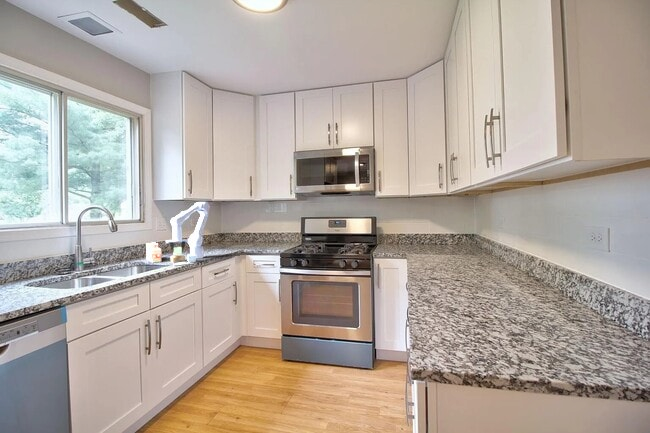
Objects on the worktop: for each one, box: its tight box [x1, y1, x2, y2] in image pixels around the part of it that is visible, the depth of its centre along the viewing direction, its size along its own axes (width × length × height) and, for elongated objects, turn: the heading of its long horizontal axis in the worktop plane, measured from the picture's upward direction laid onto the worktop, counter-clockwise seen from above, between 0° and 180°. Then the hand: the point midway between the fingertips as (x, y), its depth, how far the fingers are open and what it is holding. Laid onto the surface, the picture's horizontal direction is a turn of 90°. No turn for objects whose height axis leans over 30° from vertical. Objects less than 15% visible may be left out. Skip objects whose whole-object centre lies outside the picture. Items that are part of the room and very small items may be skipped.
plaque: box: [172, 261, 190, 267], centre depth 201 cm, size 9×9×1 cm
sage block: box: [172, 246, 183, 256], centre depth 214 cm, size 5×5×5 cm
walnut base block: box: [169, 254, 186, 264], centre depth 214 cm, size 8×8×4 cm
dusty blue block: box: [186, 254, 197, 263], centre depth 211 cm, size 5×5×5 cm
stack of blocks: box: [145, 242, 162, 264], centre depth 218 cm, size 21×6×12 cm, turn 40°
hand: (177, 252), depth 214 cm, fingers closed on sage block, 5 cm apart
